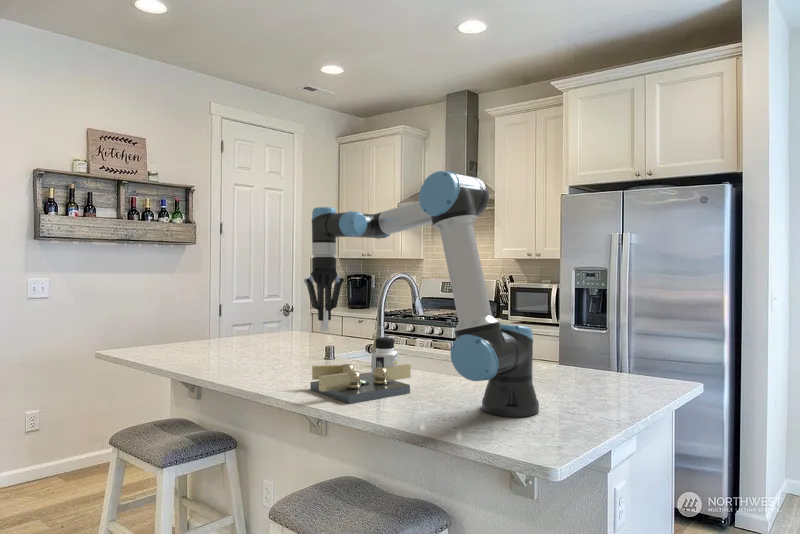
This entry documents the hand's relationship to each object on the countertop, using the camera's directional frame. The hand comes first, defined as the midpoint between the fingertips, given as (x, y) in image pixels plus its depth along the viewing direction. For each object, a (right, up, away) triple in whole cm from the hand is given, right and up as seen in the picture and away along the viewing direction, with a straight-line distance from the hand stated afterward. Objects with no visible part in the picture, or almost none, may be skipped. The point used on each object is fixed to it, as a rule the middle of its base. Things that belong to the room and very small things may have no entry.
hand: (324, 330), depth 185 cm
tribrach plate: (+12, -18, -6) cm, 22 cm away
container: (+19, -18, +21) cm, 33 cm away
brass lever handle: (+3, -15, -1) cm, 16 cm away
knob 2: (+21, -15, -3) cm, 26 cm away
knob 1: (+7, -15, -15) cm, 22 cm away
